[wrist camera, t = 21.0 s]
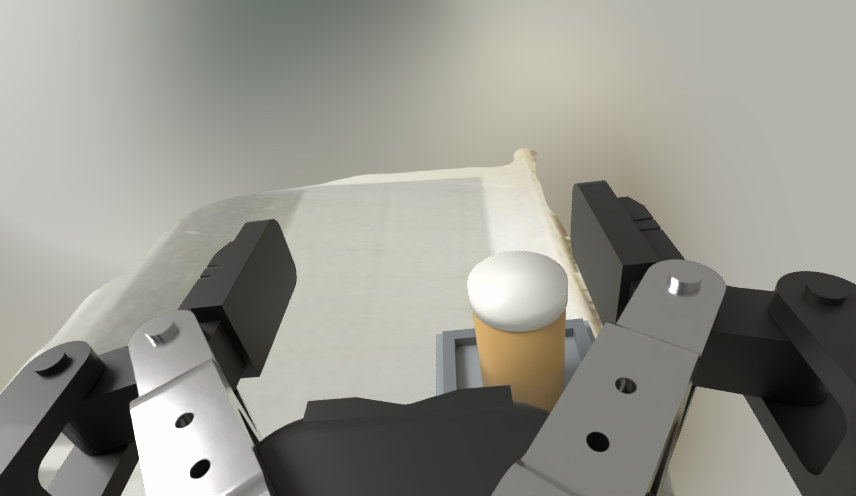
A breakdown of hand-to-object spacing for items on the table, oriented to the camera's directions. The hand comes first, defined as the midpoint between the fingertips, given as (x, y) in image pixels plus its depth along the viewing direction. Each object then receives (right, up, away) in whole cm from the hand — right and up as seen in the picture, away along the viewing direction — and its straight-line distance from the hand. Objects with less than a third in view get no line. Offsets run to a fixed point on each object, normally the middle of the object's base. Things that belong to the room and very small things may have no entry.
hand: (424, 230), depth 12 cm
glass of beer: (+7, -11, +22) cm, 26 cm away
